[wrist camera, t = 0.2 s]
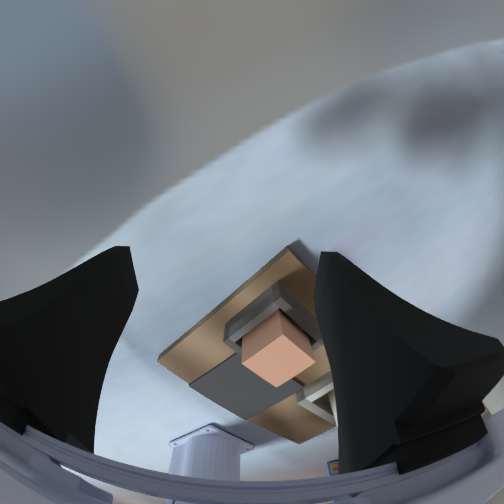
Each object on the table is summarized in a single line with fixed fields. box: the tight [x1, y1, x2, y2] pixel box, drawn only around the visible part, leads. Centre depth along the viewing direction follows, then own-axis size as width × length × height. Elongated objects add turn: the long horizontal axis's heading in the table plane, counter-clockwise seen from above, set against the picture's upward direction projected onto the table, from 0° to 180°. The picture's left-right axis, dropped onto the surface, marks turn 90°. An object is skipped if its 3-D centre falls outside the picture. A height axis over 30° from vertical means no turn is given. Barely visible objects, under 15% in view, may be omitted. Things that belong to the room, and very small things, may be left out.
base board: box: [157, 246, 337, 444], centre depth 24 cm, size 16×22×4 cm
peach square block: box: [242, 309, 316, 388], centre depth 19 cm, size 4×4×3 cm
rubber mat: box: [189, 352, 304, 420], centre depth 25 cm, size 8×8×1 cm
